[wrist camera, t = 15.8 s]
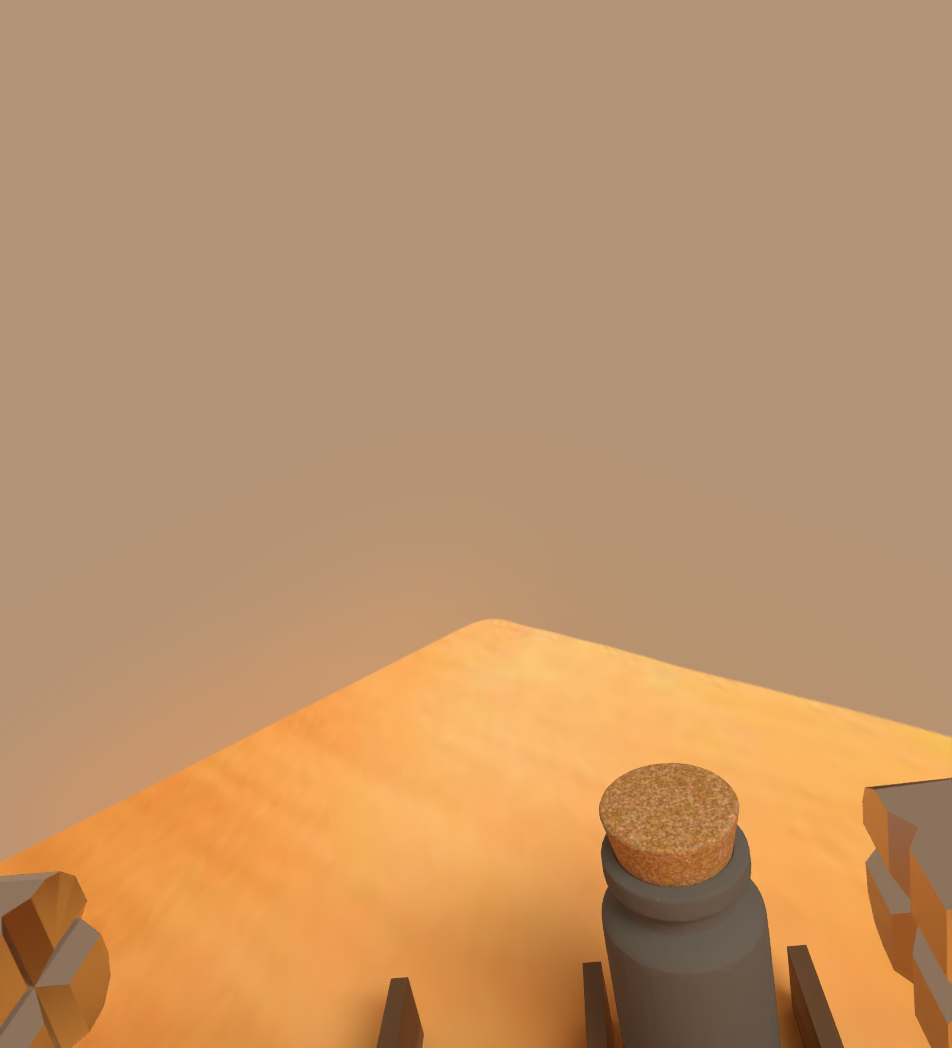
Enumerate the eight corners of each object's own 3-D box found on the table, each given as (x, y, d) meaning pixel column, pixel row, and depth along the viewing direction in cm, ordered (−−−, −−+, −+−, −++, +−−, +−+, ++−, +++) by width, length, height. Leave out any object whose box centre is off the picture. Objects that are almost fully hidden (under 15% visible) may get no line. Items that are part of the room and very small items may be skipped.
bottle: (630, 1051, 36) (580, 761, 32) (768, 1044, 36) (737, 744, 31) (643, 1196, 31) (584, 870, 26) (807, 1193, 30) (775, 854, 26)
